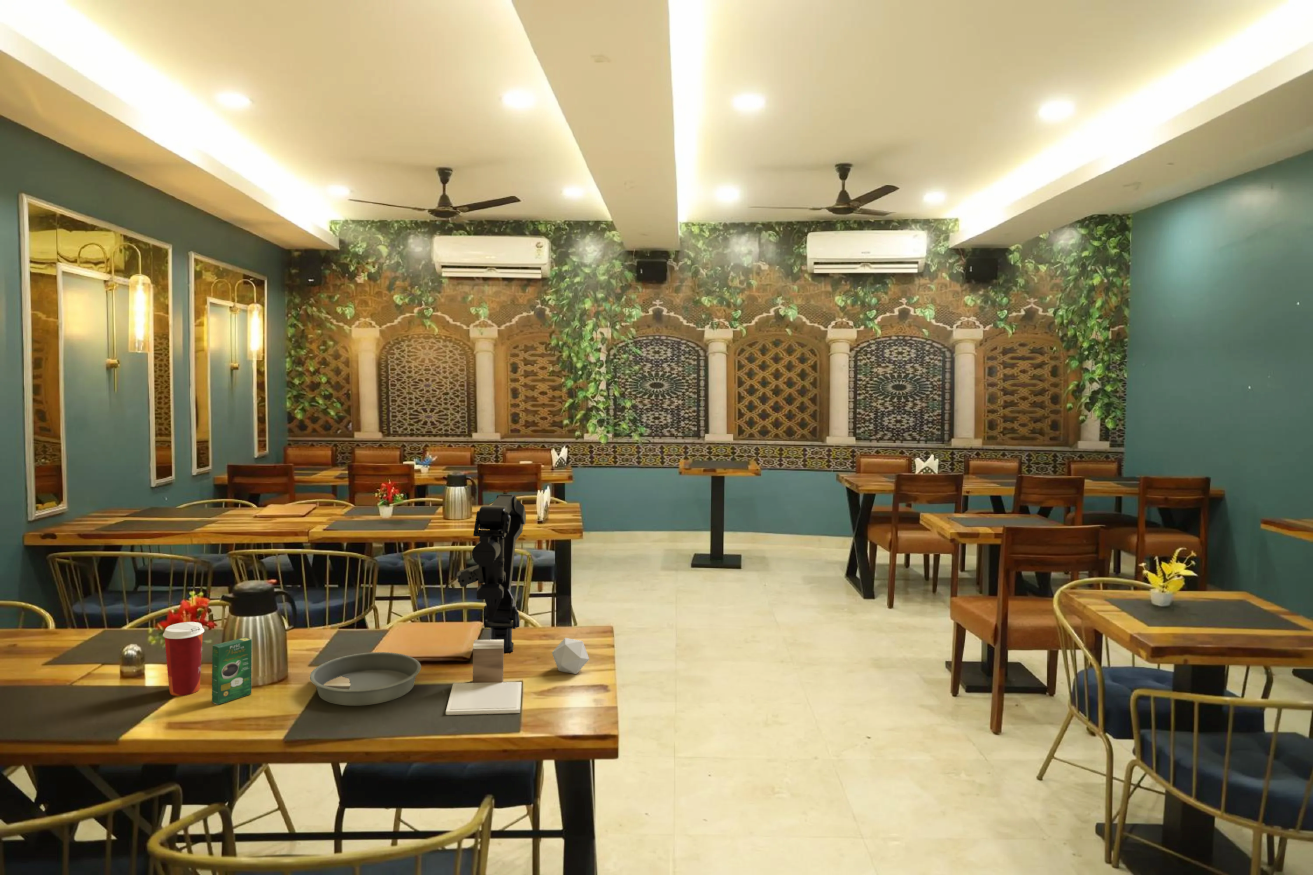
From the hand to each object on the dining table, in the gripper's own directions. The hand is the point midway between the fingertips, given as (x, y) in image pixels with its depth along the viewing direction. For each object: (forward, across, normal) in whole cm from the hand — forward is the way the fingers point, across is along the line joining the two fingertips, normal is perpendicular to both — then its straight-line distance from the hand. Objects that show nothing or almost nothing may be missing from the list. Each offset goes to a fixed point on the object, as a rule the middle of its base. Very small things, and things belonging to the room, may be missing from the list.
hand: (491, 617), depth 210 cm
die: (+13, +3, +20) cm, 24 cm away
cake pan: (+14, +11, -28) cm, 33 cm away
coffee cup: (+13, +11, -68) cm, 70 cm away
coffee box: (+13, +16, -56) cm, 60 cm away
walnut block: (+13, +10, 0) cm, 16 cm away
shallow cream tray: (+13, +20, 0) cm, 24 cm away
